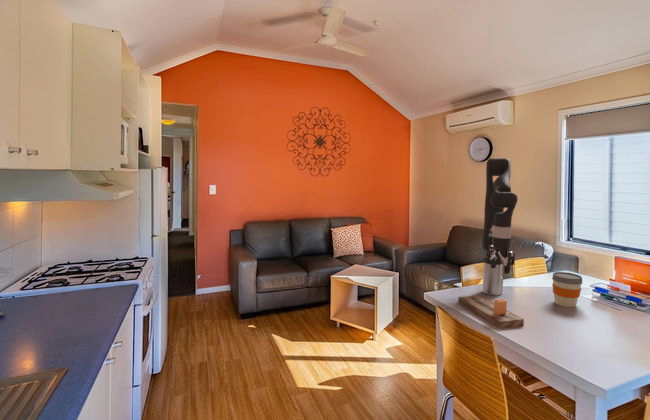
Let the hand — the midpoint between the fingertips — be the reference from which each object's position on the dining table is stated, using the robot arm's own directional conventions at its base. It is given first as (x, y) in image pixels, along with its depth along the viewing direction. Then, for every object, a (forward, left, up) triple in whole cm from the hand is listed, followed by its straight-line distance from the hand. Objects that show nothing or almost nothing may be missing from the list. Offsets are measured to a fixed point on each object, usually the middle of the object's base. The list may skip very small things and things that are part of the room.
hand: (499, 270), depth 154 cm
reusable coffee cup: (-46, -7, -23) cm, 52 cm away
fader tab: (+1, +3, -19) cm, 19 cm away
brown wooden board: (+1, -5, -22) cm, 23 cm away
